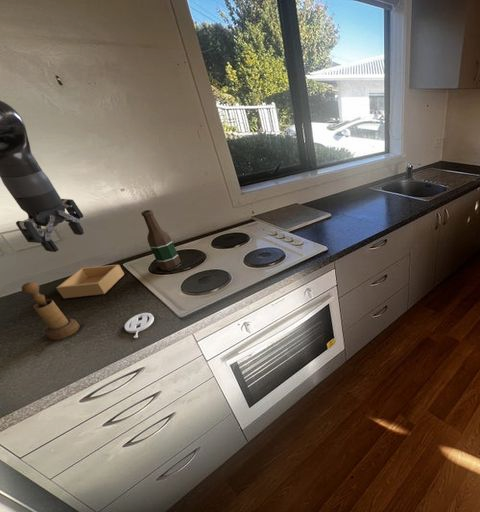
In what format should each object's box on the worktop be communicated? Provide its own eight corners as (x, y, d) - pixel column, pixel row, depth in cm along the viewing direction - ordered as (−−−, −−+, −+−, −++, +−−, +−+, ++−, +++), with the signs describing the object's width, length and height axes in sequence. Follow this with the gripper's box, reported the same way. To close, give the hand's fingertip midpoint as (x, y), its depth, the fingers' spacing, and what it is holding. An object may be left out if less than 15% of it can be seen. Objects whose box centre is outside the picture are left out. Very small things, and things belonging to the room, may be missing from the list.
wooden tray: (63, 298, 101) (55, 287, 98) (87, 277, 111) (81, 268, 109) (104, 293, 103) (98, 283, 100) (124, 274, 113) (119, 264, 111)
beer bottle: (184, 259, 123) (161, 206, 110) (179, 269, 116) (155, 213, 104) (163, 262, 120) (138, 208, 108) (157, 272, 114) (129, 216, 102)
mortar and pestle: (71, 337, 85) (33, 288, 76) (44, 342, 84) (1, 293, 74) (84, 322, 91) (50, 275, 81) (59, 326, 89) (21, 279, 80)
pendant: (155, 311, 94) (154, 309, 94) (151, 333, 86) (150, 331, 86) (128, 319, 91) (127, 317, 91) (121, 342, 83) (120, 340, 83)
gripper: (42, 177, 78) (74, 228, 88) (-16, 200, 67) (28, 256, 76) (72, 179, 79) (100, 230, 88) (20, 203, 67) (59, 258, 77)
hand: (67, 242), depth 82 cm, fingers open, 8 cm apart
